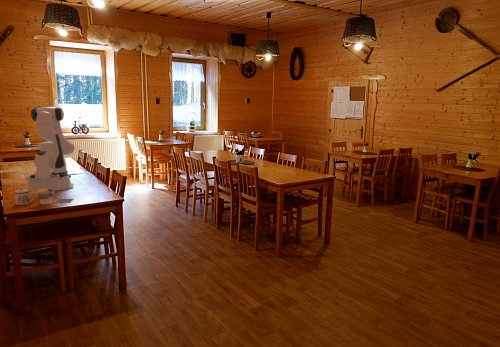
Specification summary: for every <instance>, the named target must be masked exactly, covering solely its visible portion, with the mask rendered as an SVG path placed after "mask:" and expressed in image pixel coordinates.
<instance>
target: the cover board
mask: <svg viewBox="0 0 500 347" xmlns="http://www.w3.org/2000/svg"><path fill="white" fill-rule="evenodd" d="M51 192H52V191H42V192H39V195H37V197H38V200H40V199H49V198H50V197H51V198H52V197H53V194H51Z"/></svg>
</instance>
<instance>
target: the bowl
mask: <svg viewBox="0 0 500 347" xmlns="http://www.w3.org/2000/svg"><path fill="white" fill-rule="evenodd" d="M39 202H40V203H39V204H41V205H49V204H51V203H53V202H52V196H51V197H50V198H49V199H39Z"/></svg>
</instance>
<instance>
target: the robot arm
mask: <svg viewBox="0 0 500 347" xmlns="http://www.w3.org/2000/svg"><path fill="white" fill-rule="evenodd" d="M64 117H65V112H64V110H63V109H62V108H61V107H59V106H46V107H45V106H41V107H33V108H32V109H31V111H30V118H31V120H32V121H34V122H35V133H36V135H37V136H39V138H41V139H44V140H46V141H43V142H41V143H40V144H39V151H37V152H35V154H34V155H35V156H34V166H35V168H36V169H35V173H31V174H29V175H28V180H27V188H28V190H33V191H34V192H35V194H36V195H37V196H38V195H39V194H40V191H38V189H48V190H51V191H50V192H51V194H52V195H54V194H55V191H66V190H71V189H74V183H72V182H71V178H70V177H69V176H68V175H69V174H68V170H67V163H66V159H65V156H68V155H72V154H73V153H74V152H75V145H74V143H73V142H72V141H69V140H68V139H67V138H66V136H65V135H64V133H63V131H62V125H61V121H62V120H64Z"/></svg>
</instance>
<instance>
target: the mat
mask: <svg viewBox="0 0 500 347" xmlns="http://www.w3.org/2000/svg"><path fill="white" fill-rule="evenodd" d="M73 201H74V198H59V199H57V200H56V201H55V204H71V203H72V202H73Z"/></svg>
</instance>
